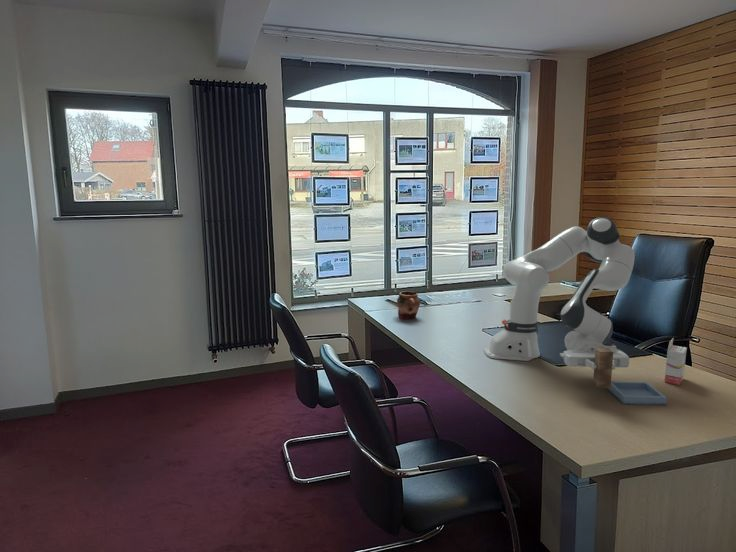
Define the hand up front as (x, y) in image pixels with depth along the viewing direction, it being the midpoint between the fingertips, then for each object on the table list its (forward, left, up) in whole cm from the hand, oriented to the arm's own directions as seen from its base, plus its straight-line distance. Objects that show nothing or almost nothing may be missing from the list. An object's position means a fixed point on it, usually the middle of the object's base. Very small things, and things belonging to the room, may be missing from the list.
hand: (604, 367), depth 160 cm
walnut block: (0, +1, -7) cm, 7 cm away
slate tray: (+12, +4, -11) cm, 17 cm away
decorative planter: (-62, +106, -12) cm, 123 cm away
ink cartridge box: (+32, +19, -12) cm, 39 cm away
